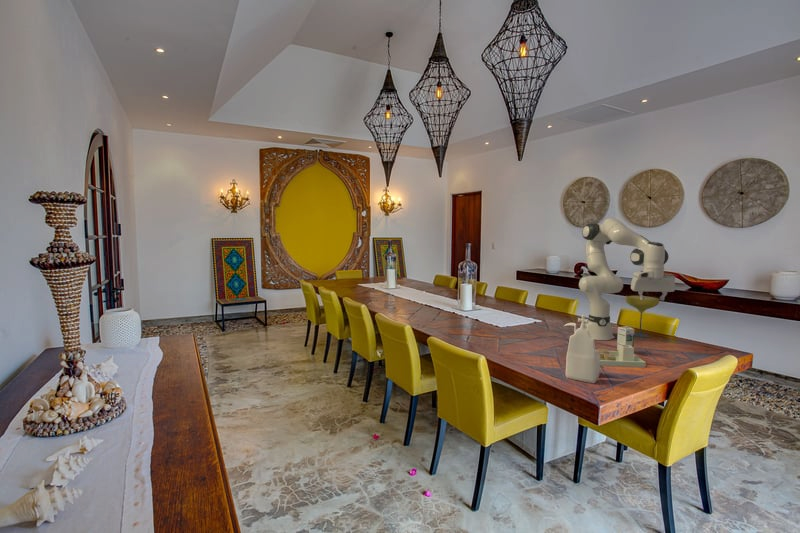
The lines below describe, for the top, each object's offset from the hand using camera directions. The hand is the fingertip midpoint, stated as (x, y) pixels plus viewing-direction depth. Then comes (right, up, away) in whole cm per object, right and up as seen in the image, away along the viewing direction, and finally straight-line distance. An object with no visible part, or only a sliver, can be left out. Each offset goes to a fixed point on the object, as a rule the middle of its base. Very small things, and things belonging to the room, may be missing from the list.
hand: (652, 299), depth 207 cm
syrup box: (-8, -30, +11) cm, 33 cm away
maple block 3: (-26, -31, -8) cm, 42 cm away
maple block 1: (-25, -30, +1) cm, 39 cm away
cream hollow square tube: (-17, -31, -6) cm, 36 cm away
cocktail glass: (+22, -27, +47) cm, 58 cm away
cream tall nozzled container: (-48, -34, -22) cm, 63 cm away
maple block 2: (-29, -31, -3) cm, 42 cm away
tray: (-22, -32, -4) cm, 39 cm away
